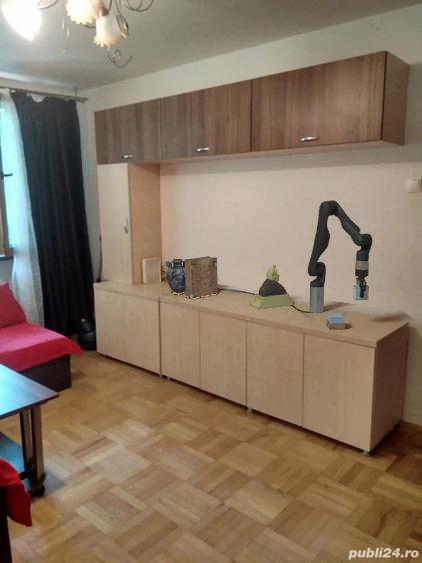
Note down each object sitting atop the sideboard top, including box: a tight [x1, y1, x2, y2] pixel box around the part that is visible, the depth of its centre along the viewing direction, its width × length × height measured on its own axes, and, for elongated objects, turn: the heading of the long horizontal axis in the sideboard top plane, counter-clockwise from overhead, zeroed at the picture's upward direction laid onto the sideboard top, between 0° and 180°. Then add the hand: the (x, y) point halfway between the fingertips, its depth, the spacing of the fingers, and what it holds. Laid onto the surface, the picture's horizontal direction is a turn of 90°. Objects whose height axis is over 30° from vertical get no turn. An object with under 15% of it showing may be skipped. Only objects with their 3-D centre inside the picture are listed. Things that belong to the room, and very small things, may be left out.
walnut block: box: [325, 318, 346, 331], centre depth 270 cm, size 9×9×4 cm
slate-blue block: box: [327, 312, 346, 323], centre depth 269 cm, size 8×8×4 cm
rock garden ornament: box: [248, 264, 294, 311], centre depth 322 cm, size 28×13×30 cm, turn 113°
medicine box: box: [352, 284, 370, 301], centre depth 269 cm, size 8×4×9 cm, turn 92°
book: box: [184, 255, 219, 298], centre depth 357 cm, size 25×9×30 cm, turn 131°
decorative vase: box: [165, 258, 187, 293], centre depth 369 cm, size 21×19×28 cm
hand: (360, 296), depth 270 cm, fingers closed on medicine box, 4 cm apart
